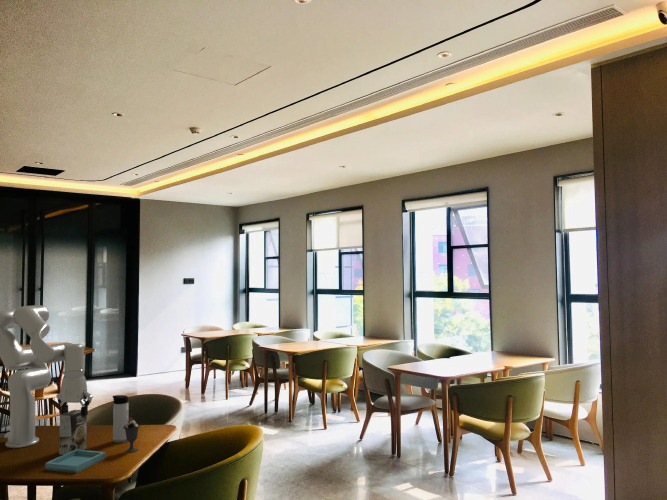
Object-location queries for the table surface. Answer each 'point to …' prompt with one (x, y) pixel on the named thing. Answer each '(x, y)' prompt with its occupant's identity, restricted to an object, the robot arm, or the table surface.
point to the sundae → (131, 433)
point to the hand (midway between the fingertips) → (74, 415)
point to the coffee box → (72, 432)
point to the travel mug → (120, 418)
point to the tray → (75, 461)
